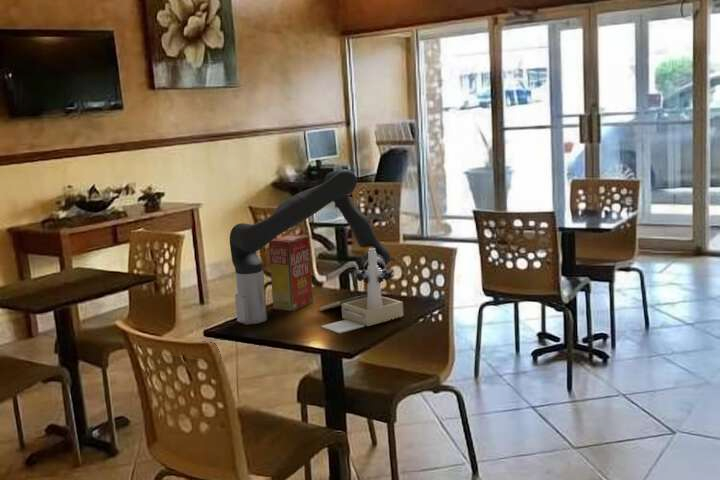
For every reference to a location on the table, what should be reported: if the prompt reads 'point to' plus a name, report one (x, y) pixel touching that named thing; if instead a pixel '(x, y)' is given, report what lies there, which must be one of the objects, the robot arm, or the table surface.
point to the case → (371, 310)
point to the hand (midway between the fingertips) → (373, 280)
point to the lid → (336, 303)
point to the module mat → (342, 326)
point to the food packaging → (290, 272)
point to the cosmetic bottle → (373, 281)
